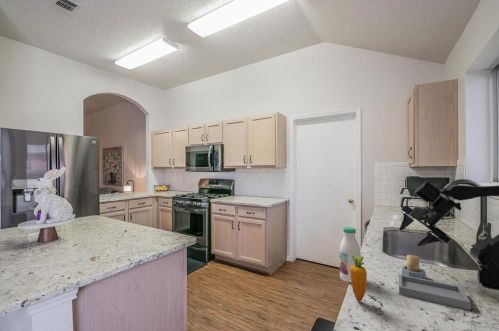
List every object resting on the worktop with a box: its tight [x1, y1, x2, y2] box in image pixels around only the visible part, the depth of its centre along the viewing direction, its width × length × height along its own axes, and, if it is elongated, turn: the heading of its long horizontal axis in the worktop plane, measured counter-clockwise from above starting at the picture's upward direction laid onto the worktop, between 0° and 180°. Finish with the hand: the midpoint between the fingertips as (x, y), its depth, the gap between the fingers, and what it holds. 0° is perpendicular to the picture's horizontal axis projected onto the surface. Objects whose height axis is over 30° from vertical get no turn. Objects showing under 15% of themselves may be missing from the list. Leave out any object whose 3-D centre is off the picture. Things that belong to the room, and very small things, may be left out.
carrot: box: [350, 255, 368, 303], centre depth 74 cm, size 5×5×15 cm
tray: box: [398, 273, 472, 311], centre depth 78 cm, size 18×12×2 cm, turn 57°
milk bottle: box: [339, 226, 362, 284], centre depth 90 cm, size 8×8×20 cm
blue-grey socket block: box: [401, 264, 427, 280], centre depth 92 cm, size 8×8×3 cm
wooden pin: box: [406, 254, 420, 273], centre depth 92 cm, size 4×4×8 cm
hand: (408, 237), depth 95 cm, fingers open, 9 cm apart
